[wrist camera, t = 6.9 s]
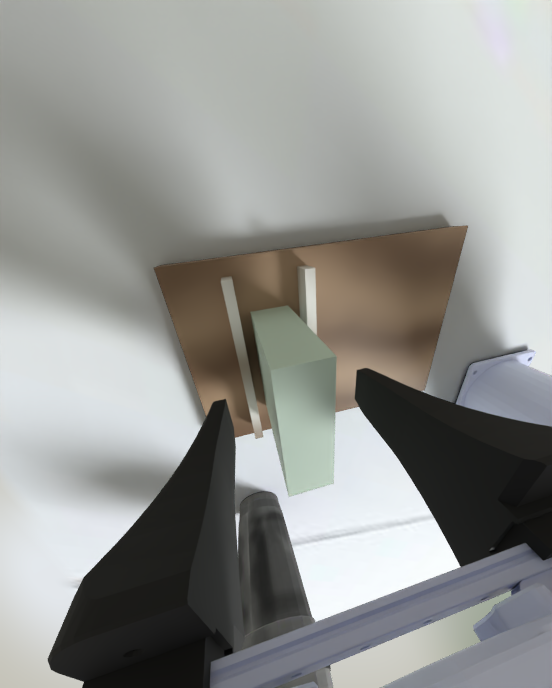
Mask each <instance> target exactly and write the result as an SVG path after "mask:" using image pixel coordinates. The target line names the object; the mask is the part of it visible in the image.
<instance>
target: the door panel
mask: <svg viewBox="0 0 552 688" xmlns="http://www.w3.org/2000/svg"><path fill="white" fill-rule="evenodd" d="M250 313H251V319H252V324H253V330H254V336H255V342H256V348H257V354H258V360H259V365H260V371H261V377H262V383H263V389H264V395H265V400H266V406H267V410H268V414H269V418H270V422H271V426H272V430H273V434H274V439H275V443H276V447H277V451H278V455H279V459H280V463H281V467H282V471H283V475H284V479H285V483H286V487H287V491H288V495H289V497H290V496H293V495H297V494H300V493H303V492H307V491H310V490H313V489H317V488H320V487H324V486H327V485H330V484H334V445H335V404H336V362H337V356H336V355H335V354H334V353H333V352H332V351H331V350H330V349H329V348H328V347H327V346H326V345H325V344H324V343H323V341H322V340H321V339H320V338H319V337H318V336H317V335H316V334H315V333H314V332H313V331H312V330H311V329H310V328H309V327H308V326H307V325H306V324H305V323H304V322H303V321H302V320H301V318H300V317H299V316H298V315H297V314H296V313H295V312H294V311H293V310H292V309H291V308H290V307H289V306H288V305H287V306H281V307H275V308H270V309H264V310H258V311H252V312H250Z"/></svg>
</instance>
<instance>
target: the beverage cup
mask: <svg viewBox="0 0 552 688" xmlns="http://www.w3.org/2000/svg"><path fill="white" fill-rule="evenodd" d="M238 565H239V578H240V591H241V602H242V614H243V625H244V636H245V641H244V644H243V646H242V649H241V650H244V649H246V648H249V647H252V646H254V645H257V644H260V643H262V642H265V641H267V640H270V639H273V638H275V637H278V636H281V635H283V634H286V633H289V632H291V631H294V630H296V629H299V628H302V627H304V626H307V625H310V624H312V623H315V620H314V618H312V615H311V611H310V608H309V604H308V601H307V597H306V594H305V590H304V587H303V583H302V580H301V576H300V573H299V569H298V566H297V562H296V559H295V555H294V552H293V548H292V545H291V541H290V538H289V534H288V531H287V527H286V524H285V520H284V517H283V513H282V510H281V508H280V505H279V503H278V498H277V496H276V495H275V494H273V493H271V492H259V493H256V494H253V495H251V496H249V497H247V498H246V499H245V500H243V502H242V503H241V505H240V520H239V537H238ZM330 671H331V670H330V665H328V666H326V667H324V668H321V669H319V670H316V671H314V672H311V673H309V674H307V675H304V676H302V677H299V678H297V679H294V680H292V681H289V682H287V683H285V684H282V685H280V686H277V687H275V688H292V687H296V686H299V685H303V684H306V683H310V682H315V683H316V684H317V685H318V688H333V683H332V678H331V673H330Z"/></svg>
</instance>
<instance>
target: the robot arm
mask: <svg viewBox="0 0 552 688" xmlns="http://www.w3.org/2000/svg"><path fill="white" fill-rule="evenodd" d="M535 354H536V352H535V351H534V350H526V351H522V352H518V353H514V354H509V355H505V356H501V357H497V358H493V359H488V360H484V361H480V362H476V363H473V364H471V365H470V366H469V369H468V371H467V374H466V377H465V380H464V382H463V385H462V388H461V391H460V393H459V396H458V399H457V402H456V404H454V403H451V402H448V401H445V400H442V399H439V398H437V397H434V396H431V395H429V394H426V393H424V392H421V391H419V390H416V389H414V388H412V387H409V386H407V385H405V384H402V383H400V382H398V381H396V380H394V379H391V378H389V377H387V376H385V375H383V374H380V373H378V372H376V371H374V370H371V369H369V368H363V369H359V370H357V372H356V386H355V400H356V402H357V404H358V405H359V407H360V409H361V410H362V412H363V414H364V415H365V416H366V418H367V419H368V420H369V422H370V423H371V424H372V426H373V427H374V428H375V429H376V431H377V432H378V433H379V434H380V436H381V437H382V438H383V439H384V441H385V442H386V443H387V444H388V446H389V447H390V448H391V450H392V451H393V452H394V454H395V455H396V456H397V458H398V459H399V461H400V462H401V464H402V465H403V467H404V468H405V470H406V472H407V473H408V475H409V476H410V478H411V479H412V481H413V483H414V484H415V486H416V487H417V489H418V491H419V492H420V494H421V496H422V497H423V499H424V501H425V502H426V504H427V506H428V508H429V509H430V511H431V513H432V514H433V516H434V518H435V520H436V521H437V523H438V525H439V527H440V529H441V531H442V532H443V534H444V536H445V538H446V540H447V542H448V543H449V545H450V547H451V549H452V551H453V553H454V555H455V557H456V559H457V561H458V563H459V565H460V566H461V567H460V568H457V569H455V570H452V571H449V572H447V573H444V574H442V575H439V576H436V577H434V578H431V579H428V580H426V581H423V582H420V583H418V584H415V585H413V586H410V587H407V588H405V589H402V590H399V591H397V592H394V593H391V594H389V595H386V596H384V597H381V598H378V599H376V600H373V601H370V602H368V603H365V604H362V605H360V606H357V607H355V608H352V609H349V610H347V611H344V612H341V613H339V614H336V615H333V616H331V617H328V618H326V619H323V620H320V621H318V622H315V623H312V624H310V625H307V626H304V627H302V628H299V629H296V630H294V631H291V632H289V633H286V634H283V635H281V636H278V637H275V638H273V639H270V640H267V641H265V642H262V643H260V644H257V645H254V646H252V647H249V648H246V649H244V650H241V649H242V646H243V644H244V641H245V636H244V625H243V614H242V602H241V591H240V578H239V565H238V552H237V537H236V522H235V505H234V489H235V449H236V446H235V434H234V426H233V422H232V419H231V415H230V412H229V408H228V405H227V401H226V399H223V400H218V401H214V402H213V403H212V405H211V408H210V410H209V412H208V414H207V417H206V419H205V421H204V423H203V425H202V427H201V429H200V431H199V433H198V435H197V437H196V438H195V440H194V442H193V444H192V445H191V447H190V449H189V450H188V452H187V454H186V456H185V457H184V459H183V460H182V462H181V463H180V465H179V466H178V468H177V469H176V471H175V472H174V474H173V475H172V477H171V478H170V479H169V481H168V482H167V483H166V485H165V486H164V488H163V489H162V490H161V492H160V493H159V494H158V495H157V497H156V498H155V499H154V501H153V502H152V503H151V504H150V506H149V507H148V508H147V509H146V510H145V511H144V513H143V514H142V515H141V516H140V517H139V519H138V520H137V521H136V522H135V523H134V524H133V526H132V527H131V528H130V529H129V530H128V531H127V532H126V534H125V535H124V536H123V537H122V538H121V539H120V540H119V541H118V542H117V543H116V544H115V546H114V547H113V548H112V549H111V550H110V551H109V552H108V553H107V554H106V555H105V556H104V557H103V558H102V559H101V560H100V561H99V562H98V563H97V564H96V565H95V566H94V567H93V568H92V570H91V571H90V572H89V573H88V574H87V575H86V576H85V577H84V578H83V580H82V582H81V584H80V586H79V588H78V590H77V592H76V594H75V596H74V599H73V601H72V603H71V606H70V608H69V610H68V613H67V615H66V617H65V620H64V622H63V624H62V627H61V629H60V631H59V634H58V636H57V638H56V641H55V643H54V646H53V648H52V650H51V653H50V655H49V658H48V662H49V665H50V668H51V670H53V671H55V672H57V673H59V674H62V675H65V676H68V677H71V678H75V679H77V680H80V681H84V684H83V687H82V688H275V687H277V686H280V685H282V684H285V683H287V682H289V681H292V680H294V679H297V678H299V677H302V676H304V675H307V674H309V673H311V672H314V671H316V670H319V669H321V668H324V667H326V666H328V665H331V664H333V663H336V662H338V661H340V660H343V659H345V658H348V657H350V656H353V655H355V654H357V653H360V652H363V651H365V650H367V649H370V648H372V647H375V646H377V645H379V644H382V643H384V642H387V641H389V640H392V639H394V638H397V637H399V636H401V635H404V634H406V633H409V632H411V631H414V630H416V629H419V628H421V627H423V626H426V625H428V624H431V623H433V622H435V621H438V620H440V619H443V618H445V617H448V616H450V615H453V614H455V613H457V612H460V611H462V610H465V609H467V608H470V607H472V606H475V605H477V604H479V603H482V602H484V601H486V600H489V599H492V598H494V597H496V596H499V595H501V594H504V593H506V592H509V591H511V590H512V591H511V595H512V596H510V597H508V598H506V599H505V600H503V601H501V602H499V603H498V604H495V605H494V606H493V608H492V610H491V611H490V612H489V613H488V614H487V615H486V616H485V617H484V618H483V619H481V620H480V621H479V622H477V623H476V624H475V625H474V626H473V628H474V631H475V633H476V635H477V636H478V638H479V639H480V641H481V642H479V643H477V644H474V645H472V646H470V647H468V648H465V649H463V650H461V651H458V652H456V653H454V654H452V655H449V656H447V657H445V658H443V659H440V660H438V661H436V662H434V663H432V664H430V665H427V666H425V667H423V668H421V669H419V670H417V671H414V672H412V673H410V674H408V675H406V676H404V677H402V678H400V679H398V680H395V681H393V682H391V683H389V684H387V685H385V686H383V687H381V688H552V376H551V375H548V374H546V373H544V372H541V371H539V370H536V369H534V368H532V367H529V365H530V364H531V362H532V360H533V358H534V356H535ZM292 688H318V685H317V684H316V683H315V682H310V683H306V684H303V685H299V686H296V687H292Z"/></svg>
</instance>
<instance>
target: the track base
mask: <svg viewBox="0 0 552 688" xmlns="http://www.w3.org/2000/svg"><path fill="white" fill-rule="evenodd" d="M467 228H468V226H453V227H445V228H437V229H430V230H422V231H415V232H407V233H400V234H392V235H385V236H377V237H370V238H362V239H355V240H347V241H340V242H332V243H325V244H317V245H310V246H302V247H295V248H287V249H280V250H272V251H265V252H257V253H250V254H242V255H235V256H227V257H220V258H212V259H205V260H197V261H190V262H182V263H175V264H167V265H160V266H157V267H155V268H154V270H155V273H156V276H157V279H158V281H159V284H160V287H161V290H162V293H163V296H164V298H165V301H166V304H167V307H168V310H169V313H170V315H171V318H172V321H173V324H174V327H175V330H176V332H177V335H178V338H179V341H180V344H181V346H182V349H183V352H184V355H185V358H186V361H187V363H188V366H189V369H190V372H191V375H192V378H193V380H194V383H195V386H196V389H197V392H198V395H199V397H200V400H201V403H202V406H203V409H204V412H205V414H206V417H207V414H208V412H209V410H210V408H211V405H212V403H213V402H214V401H218V400H223V399H226V401H227V405H228V408H229V412H230V415H231V419H232V422H233V426H234V434H235V437H239V436H243V435H247V434H251V433H255V438H256V439H257V438H261V437H263V433H262V431H263V430H267V429H271V428H272V426H271V422H270V418H269V414H268V410H267V406H266V400H265V395H264V389H263V383H262V377H261V371H260V365H259V360H258V354H257V348H256V342H255V336H254V330H253V324H252V319H251V313H250V312H252V311H258V310H264V309H270V308H275V307H281V306H287V305H288V306H289V307H290V308H291V309H292V310H293V311H294V312H295V313H296V314H297V315H298V316H299V317H300V318H301V320H302V321H303V322H304V323H305V324H306V325H307V326H308V327H309V328H310V329H311V330H312V331H313V332H314V333H315V334H316V335H317V336H318V337H319V338H320V339H321V340H322V341H323V343H324V344H325V345H326V346H327V347H328V348H329V349H330V350H331V351H332V352H333V353H334V354H335V355H336V356H337V362H336V404H335V412H339V411H343V410H347V409H351V408H355V407H359V405H358V404H357V402H356V400H355V386H356V372H357V370H359V369H363V368H369V369H371V370H374V371H376V372H378V373H380V374H383V375H385V376H387V377H389V378H391V379H394V380H396V381H398V382H400V383H402V384H405V385H407V386H409V387H412V388H414V389H416V390H419V391H423V390H425V387H426V383H427V379H428V375H429V371H430V368H431V364H432V360H433V356H434V353H435V349H436V345H437V341H438V338H439V334H440V330H441V326H442V322H443V319H444V315H445V311H446V307H447V304H448V300H449V296H450V292H451V288H452V285H453V281H454V277H455V273H456V270H457V266H458V262H459V258H460V254H461V251H462V247H463V243H464V239H465V236H466V232H467Z"/></svg>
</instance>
